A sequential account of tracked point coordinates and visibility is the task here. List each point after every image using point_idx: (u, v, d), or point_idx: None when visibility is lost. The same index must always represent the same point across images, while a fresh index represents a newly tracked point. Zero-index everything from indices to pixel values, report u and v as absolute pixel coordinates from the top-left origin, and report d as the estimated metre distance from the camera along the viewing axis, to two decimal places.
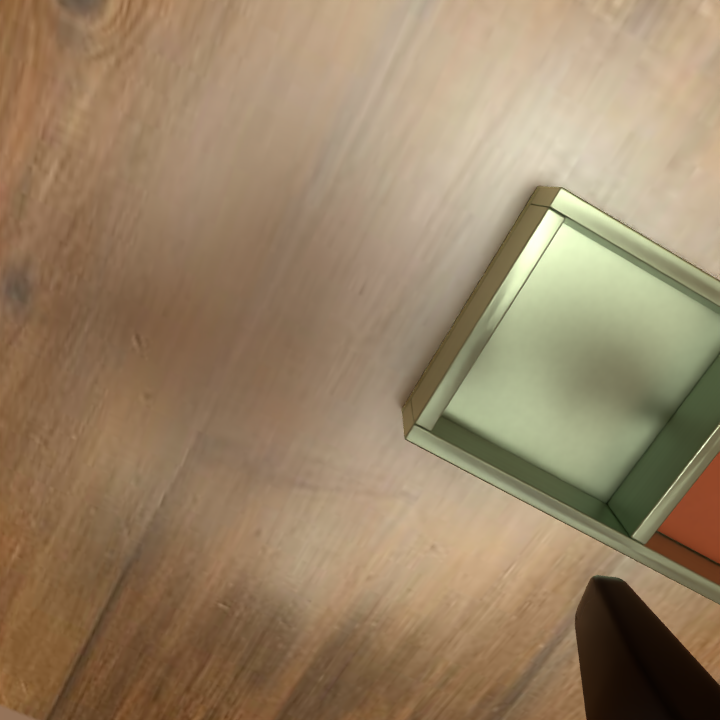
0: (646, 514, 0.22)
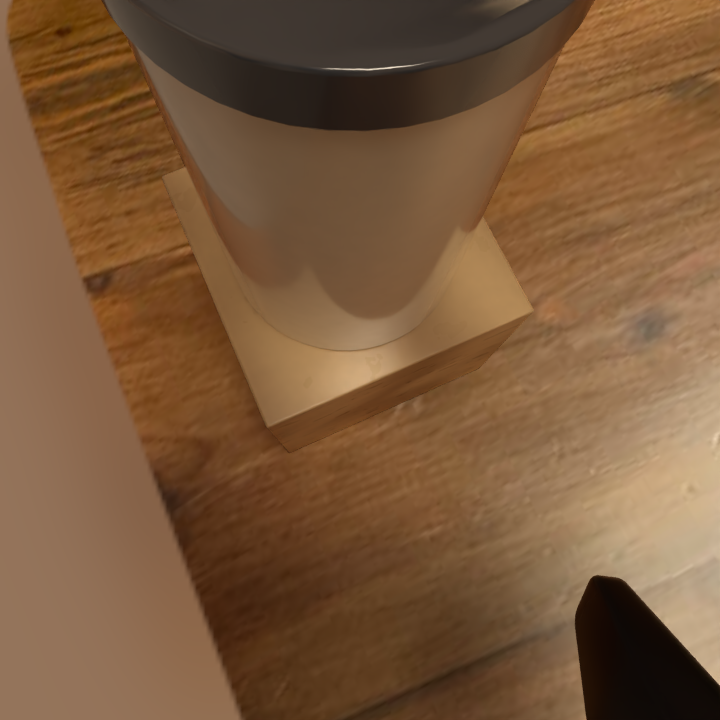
0: None
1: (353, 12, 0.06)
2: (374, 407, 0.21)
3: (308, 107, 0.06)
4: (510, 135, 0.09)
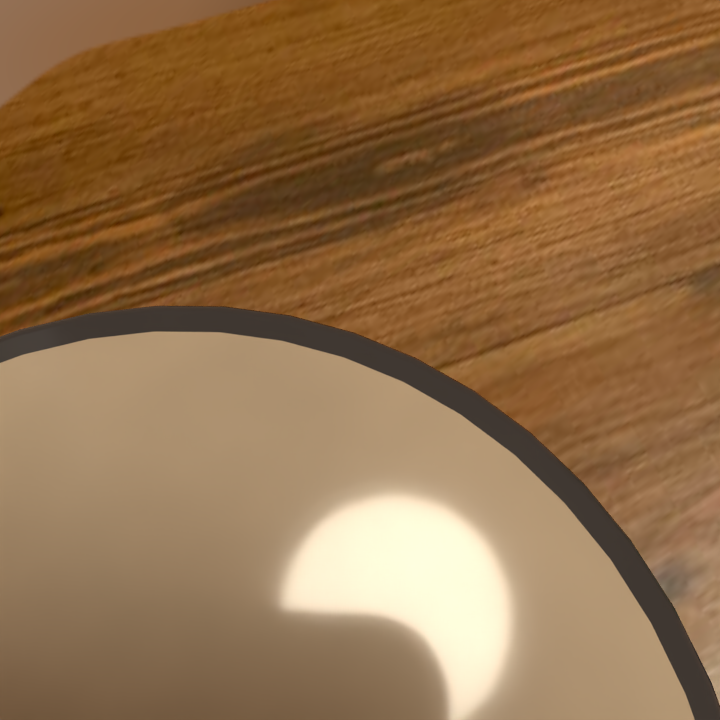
0: None
1: None
2: None
3: None
4: None
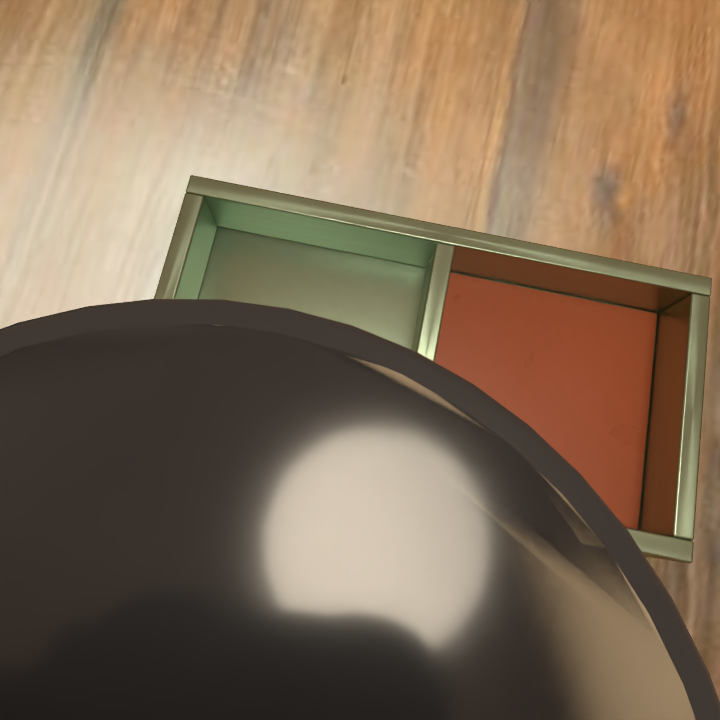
0: None
1: None
2: None
3: None
4: None
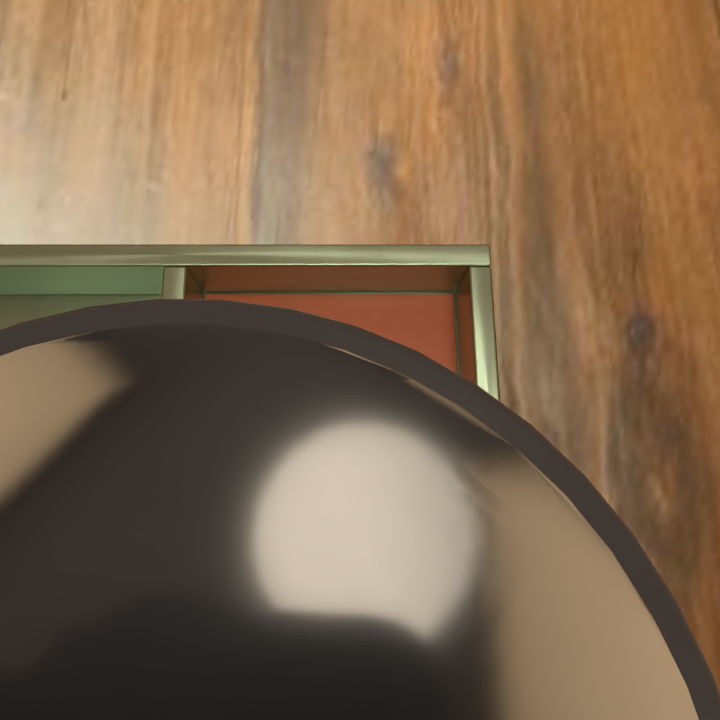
0: None
1: None
2: None
3: None
4: None
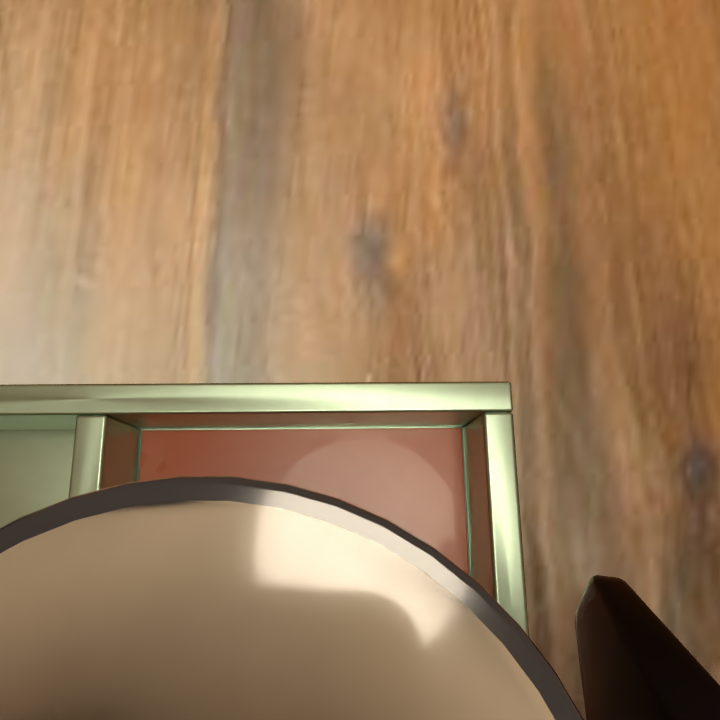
0: None
1: None
2: None
3: None
4: None
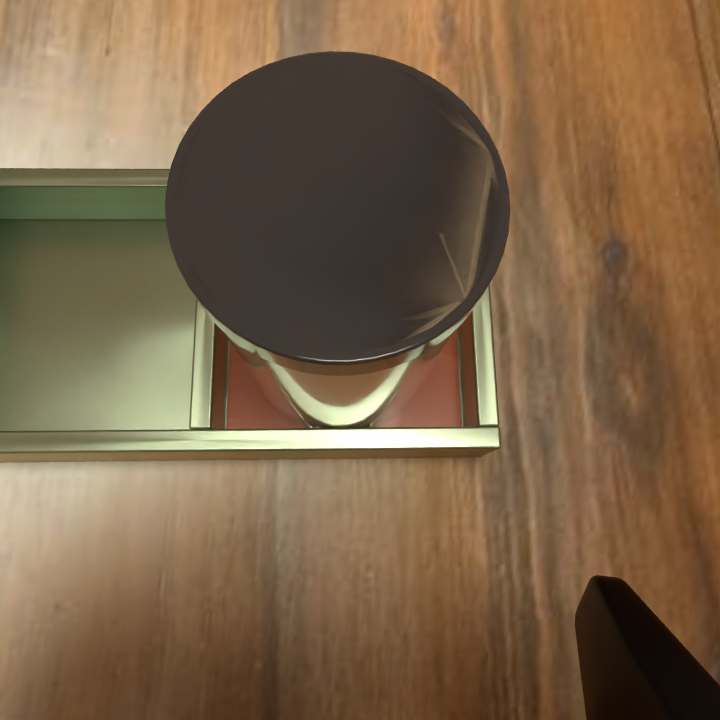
0: (190, 395, 0.20)
1: (339, 326, 0.11)
2: None
3: (314, 369, 0.12)
4: (442, 344, 0.14)
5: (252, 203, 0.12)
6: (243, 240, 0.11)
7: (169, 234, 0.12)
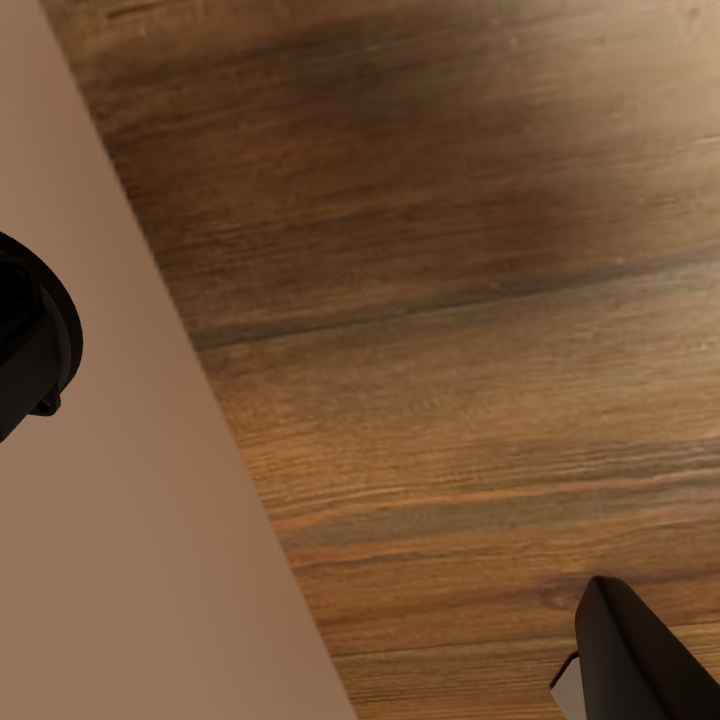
0: None
1: None
2: None
3: None
4: None
5: None
6: None
7: None
